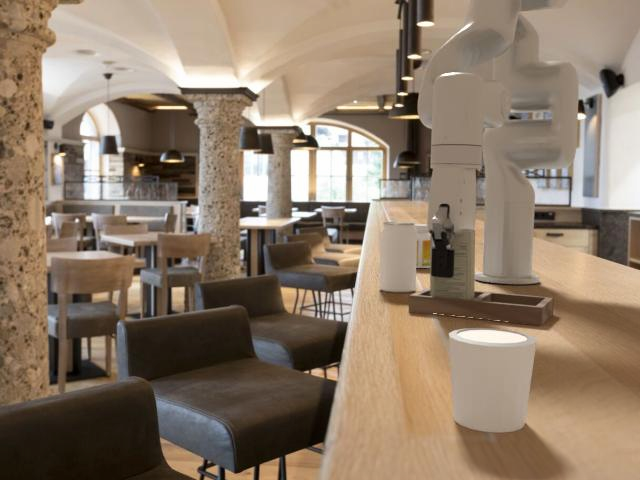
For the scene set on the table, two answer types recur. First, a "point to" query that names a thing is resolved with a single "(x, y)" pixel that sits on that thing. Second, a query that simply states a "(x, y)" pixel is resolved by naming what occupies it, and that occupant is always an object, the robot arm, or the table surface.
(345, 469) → the table surface
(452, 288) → the skincare box
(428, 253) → the supplement bottle
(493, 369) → the white tapered cup
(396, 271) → the can
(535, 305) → the divided wooden tray
